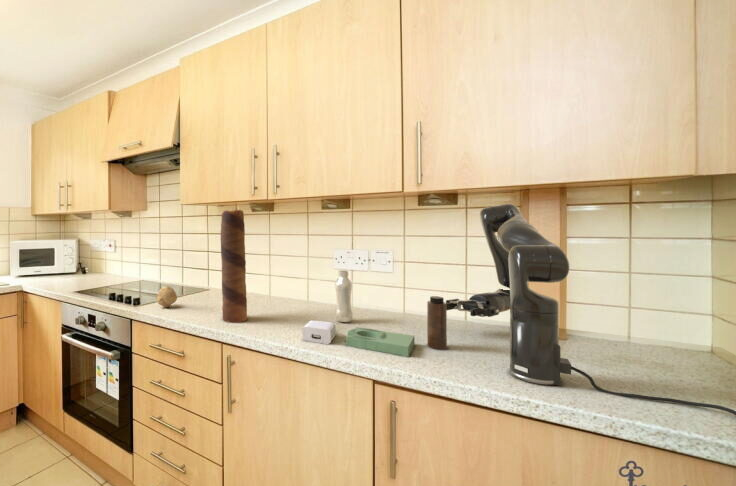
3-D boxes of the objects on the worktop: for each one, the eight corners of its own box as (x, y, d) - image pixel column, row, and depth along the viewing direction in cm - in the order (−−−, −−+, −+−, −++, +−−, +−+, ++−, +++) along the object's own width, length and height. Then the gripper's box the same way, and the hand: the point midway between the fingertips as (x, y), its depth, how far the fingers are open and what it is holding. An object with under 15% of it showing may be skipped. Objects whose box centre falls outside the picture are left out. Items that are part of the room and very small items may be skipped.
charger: (339, 331, 130) (330, 344, 117) (313, 328, 134) (302, 340, 121) (338, 318, 130) (330, 329, 117) (313, 315, 134) (302, 326, 121)
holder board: (414, 345, 115) (414, 335, 115) (408, 357, 105) (408, 346, 105) (353, 334, 126) (353, 326, 126) (342, 344, 116) (342, 335, 116)
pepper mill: (447, 346, 114) (447, 296, 113) (446, 351, 109) (445, 299, 109) (428, 343, 117) (428, 295, 116) (426, 347, 113) (426, 297, 112)
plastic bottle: (340, 324, 139) (340, 272, 139) (332, 319, 146) (331, 270, 145) (356, 323, 140) (355, 271, 140) (346, 318, 147) (346, 269, 146)
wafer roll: (223, 324, 142) (221, 209, 141) (220, 317, 152) (218, 210, 151) (249, 322, 143) (248, 209, 142) (244, 315, 154) (243, 210, 153)
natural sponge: (180, 305, 174) (180, 285, 173) (171, 310, 165) (170, 288, 165) (164, 304, 177) (164, 284, 177) (154, 308, 169) (153, 287, 169)
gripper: (465, 289, 131) (436, 294, 124) (510, 297, 118) (481, 302, 111) (465, 310, 131) (436, 316, 124) (510, 319, 118) (481, 326, 111)
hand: (457, 309), depth 118 cm, fingers open, 8 cm apart
